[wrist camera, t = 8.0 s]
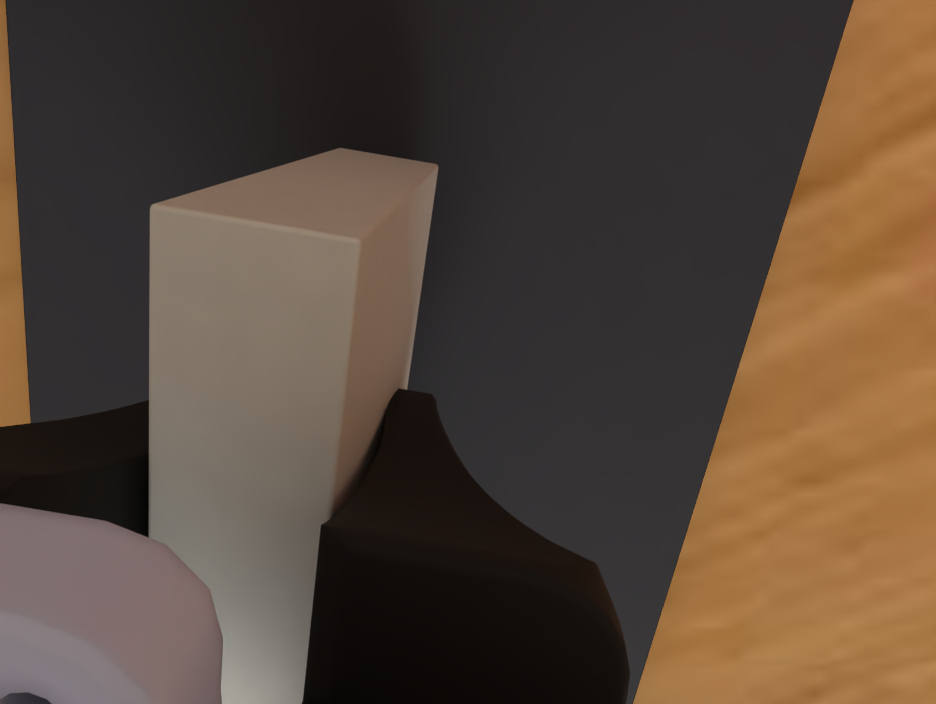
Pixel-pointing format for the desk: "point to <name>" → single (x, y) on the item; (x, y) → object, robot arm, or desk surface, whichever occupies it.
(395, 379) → the block
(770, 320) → the desk surface
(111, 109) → the mat
